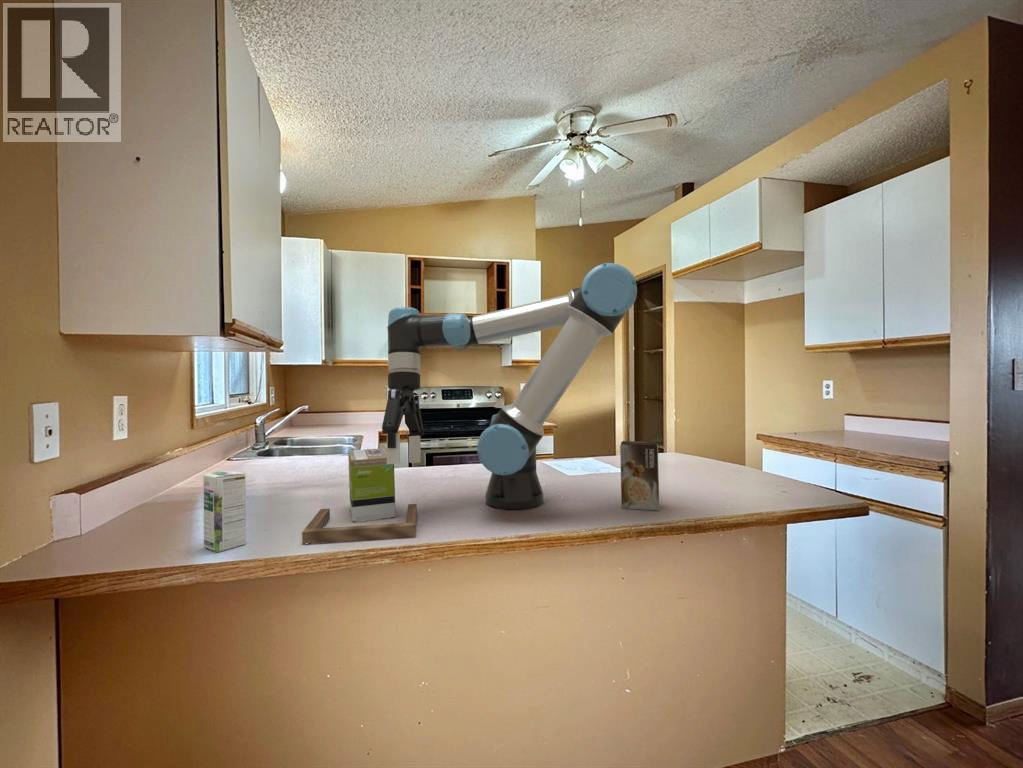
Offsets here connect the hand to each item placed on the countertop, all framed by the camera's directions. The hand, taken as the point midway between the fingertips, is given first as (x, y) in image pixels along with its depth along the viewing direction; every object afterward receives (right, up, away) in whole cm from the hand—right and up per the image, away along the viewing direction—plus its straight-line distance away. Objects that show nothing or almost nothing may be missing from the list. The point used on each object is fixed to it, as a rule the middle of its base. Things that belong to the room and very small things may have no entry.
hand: (404, 463), depth 114 cm
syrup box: (-32, -14, -16) cm, 39 cm away
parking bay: (-8, -13, -5) cm, 16 cm away
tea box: (-10, -13, +7) cm, 18 cm away
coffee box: (+57, -12, +9) cm, 59 cm away
